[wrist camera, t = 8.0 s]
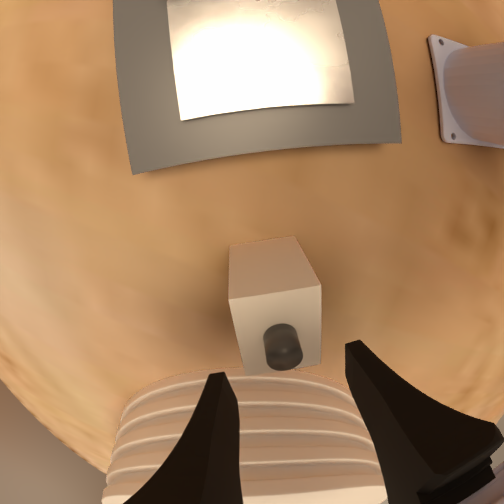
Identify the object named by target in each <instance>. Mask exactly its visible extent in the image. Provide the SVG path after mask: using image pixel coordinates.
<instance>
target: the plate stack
mask: <svg viewBox="0 0 504 504" xmlns="http://www.w3.org/2000/svg"><path fill="white" fill-rule="evenodd" d="M218 372H225V374H226V376H227V378H228V381H229V383H230V385H231V387H232V389H233V391H234V393H235V396H236V398H237V400H238V409H239V418H240V448H239V470H240V481H241V490H242V497H243V504H380V503H381V502H383V501H384V500H385V499H386V498H388V497H387V492H386V488H385V484H384V480H383V476H382V472H381V468H380V464H379V461H378V457H377V454H376V451H375V447H374V444H373V441H372V439H371V436H370V434H369V432H368V430H367V427H366V425H365V423H364V421H363V419H362V416H361V414H360V412H359V410H358V408H357V405H356V403H355V401H354V399H353V397H352V394H351V391H350V390H349V389H348V388H346V387H345V386H343V385H341V384H340V383H338V382H336V381H333V380H331V379H328V378H326V377H323V376H319V375H316V374H312V373H307V372H302V371H296V370H286V371H279V372H273V373H266V374H259V375H252V376H246V375H245V371H244V367H234V368H219V369H209V370H201V371H195V372H189V373H184V374H180V375H175V376H172V377H168V378H165V379H162V380H159V381H157V382H154V383H152V384H150V385H148V386H146V387H144V388H142V389H141V390H139V391H138V392H136V393H135V394H134V395H133V396H132V397H131V398H130V399H129V400H128V402H127V403H126V405H125V407H124V409H123V413H122V416H121V421H120V425H119V427H118V431H117V435H116V439H115V445H114V447H113V450H112V455H111V465H110V466H109V468H108V472H107V476H106V483H107V485H108V486H107V487H106V488H105V489H104V491H103V496H102V504H123V503H124V502H125V501H126V500H128V499H129V498H130V497H131V496H132V495H134V494H135V493H136V492H137V491H138V490H139V489H140V488H141V487H142V486H143V485H144V484H145V483H146V482H147V481H148V480H149V479H150V478H151V477H152V476H153V475H154V473H155V472H156V471H157V470H158V469H159V468H160V466H161V465H162V464H163V462H164V461H165V460H166V458H167V457H168V456H169V454H170V453H171V451H172V450H173V448H174V447H175V445H176V444H177V442H178V440H179V439H180V437H181V435H182V434H183V432H184V430H185V428H186V426H187V424H188V422H189V421H190V418H191V416H192V414H193V412H194V410H195V408H196V406H197V403H198V401H199V399H200V396H201V394H202V391H203V389H204V386H205V383H206V381H207V378H208V376H209V374H211V373H218Z"/></svg>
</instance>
